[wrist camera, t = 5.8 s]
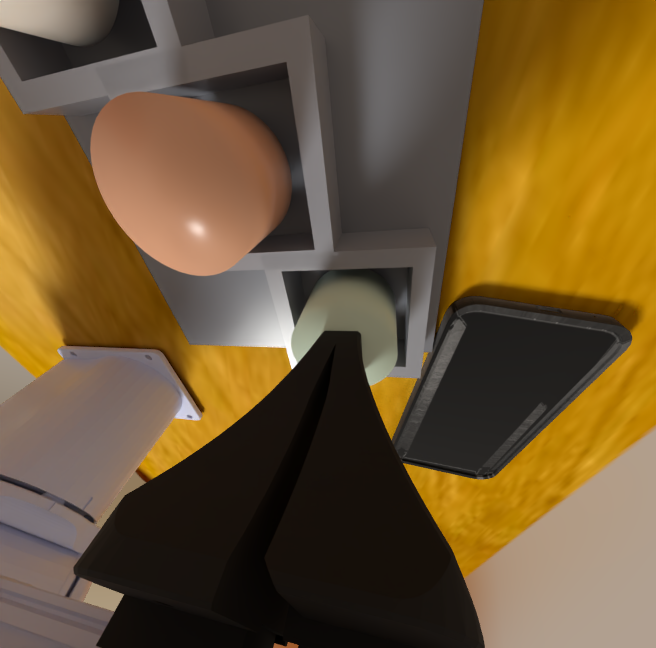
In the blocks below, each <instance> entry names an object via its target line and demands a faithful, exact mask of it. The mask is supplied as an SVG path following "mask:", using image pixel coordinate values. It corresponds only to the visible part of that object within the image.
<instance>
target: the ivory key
mask: <svg viewBox="0 0 656 648" xmlns="http://www.w3.org/2000/svg"><path fill="white" fill-rule="evenodd" d="M118 6H119V0H0V27H4V28H7V29H11V30H15V31H19V32H23V33H27V34H31V35H35V36H38V37H42V38H46V39H50V40H54V41H58V42H62V43H66V44H70V45H73V46H79V47H87V46H93V45H95V44H97V43H99V42H101V41H102V40H103V39H104V38H105V37H106V36H107V35H108V34H109V32H110V30H111V29H112V27H113V25H114V22H115V19H116V16H117V12H118Z"/></svg>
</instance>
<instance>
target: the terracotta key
mask: <svg viewBox="0 0 656 648" xmlns="http://www.w3.org/2000/svg"><path fill="white" fill-rule="evenodd" d="M90 151H91V162H92V167H93V172H94V176H95V179H96V182H97V185H98V188H99V190H100V193H101V195H102V197H103V199H104V201H105V203H106V205H107V207H108V209H109V210H110V212H111V214H112V215H113V217H114V218H115V220H116V221H117V223H118V224H119V225H120V227H121V228H122V229H123V230H124V232H125V233H126V234H127V235H128V236H129V237H130V238H131V239H132V240H133V241H134V242H135V243H136V244H137V245H138V246H139V247H140V248H141V249H142V250H143V251H145V252H146V253H147V254H148V255H150V256H151V257H152V258H154V259H155V260H157V261H159V262H160V263H162V264H164V265H166V266H168V267H170V268H172V269H174V270H177V271H179V272H182V273H186V274H190V275H196V276H209V275H215V274H219V273H222V272H224V271H226V270H228V269H230V268H231V267H233V266H234V265H235V264H236V263H237V262H238V261H240V260H241V259H242V258H243V257H244V256H245V255H246V254H247V253H248V252H250V251H251V250H252V249H253V248H254V247H255V246H256V245H257V244H258V243H260V242H261V241H262V240H263V239H264V238H265V237H266V236H267V235H268V234H270V233H271V232H272V231H273V230H274V229H275V228H276V227H277V226H278V225H279V224H280V223H281V222H282V220H283V219H284V217H285V215H286V213H287V211H288V208H289V205H290V201H291V195H292V179H291V172H290V167H289V163H288V160H287V157H286V154H285V152H284V150H283V148H282V146H281V144H280V142H279V141H278V139H277V137H276V136H275V135H274V133H273V132H272V131H271V129H270V128H269V127H268V126H267V125H266V124H265V123H264V122H263V121H262V120H261V119H260V118H258V117H257V116H256V115H255V114H253V113H251V112H250V111H248V110H246V109H244V108H242V107H239V106H236V105H232V104H227V103H220V102H213V101H206V100H199V99H193V98H186V97H179V96H172V95H165V94H158V93H150V92H139V91H138V92H129V93H125V94H122V95H119V96H117V97H115V98H114V99H112V100H111V101H109V102H108V103H107V104H106V105H105V106H104V107H103V108H102V109H101V111H100V113H99V114H98V116H97V117H96V120H95V123H94V126H93V129H92V134H91V146H90Z"/></svg>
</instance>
